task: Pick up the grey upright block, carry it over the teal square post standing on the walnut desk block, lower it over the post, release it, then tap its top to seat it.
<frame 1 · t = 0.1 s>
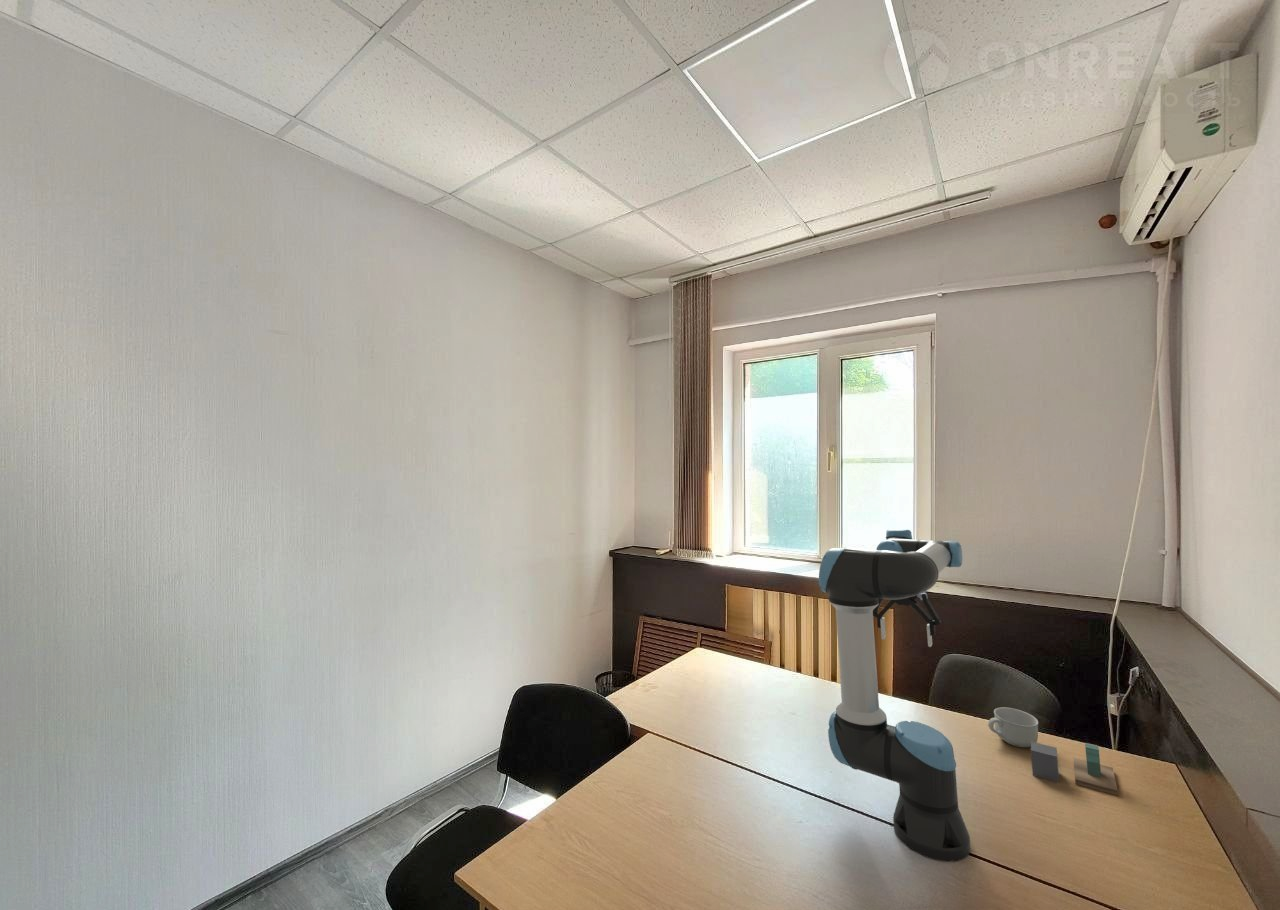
hand: (906, 641, 159), 28 cm above the table, fingers open, 13 cm apart
teacup: (1012, 742, 148), on the table
stand: (1094, 778, 130), on the table
grey upright block: (1045, 773, 132), on the table
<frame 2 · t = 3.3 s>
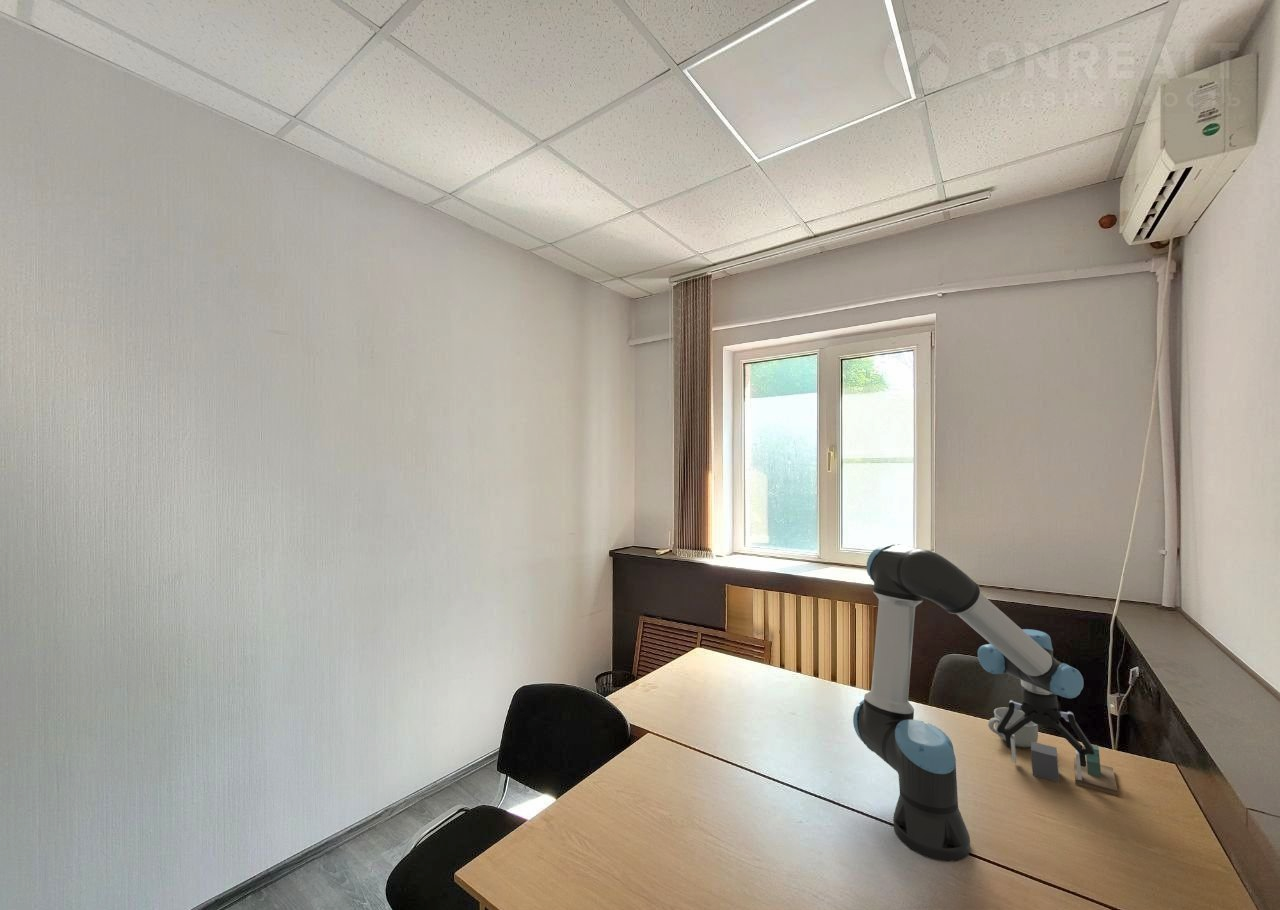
hand: (1046, 768, 132), 1 cm above the table, fingers open, 13 cm apart
nothing on the table moved.
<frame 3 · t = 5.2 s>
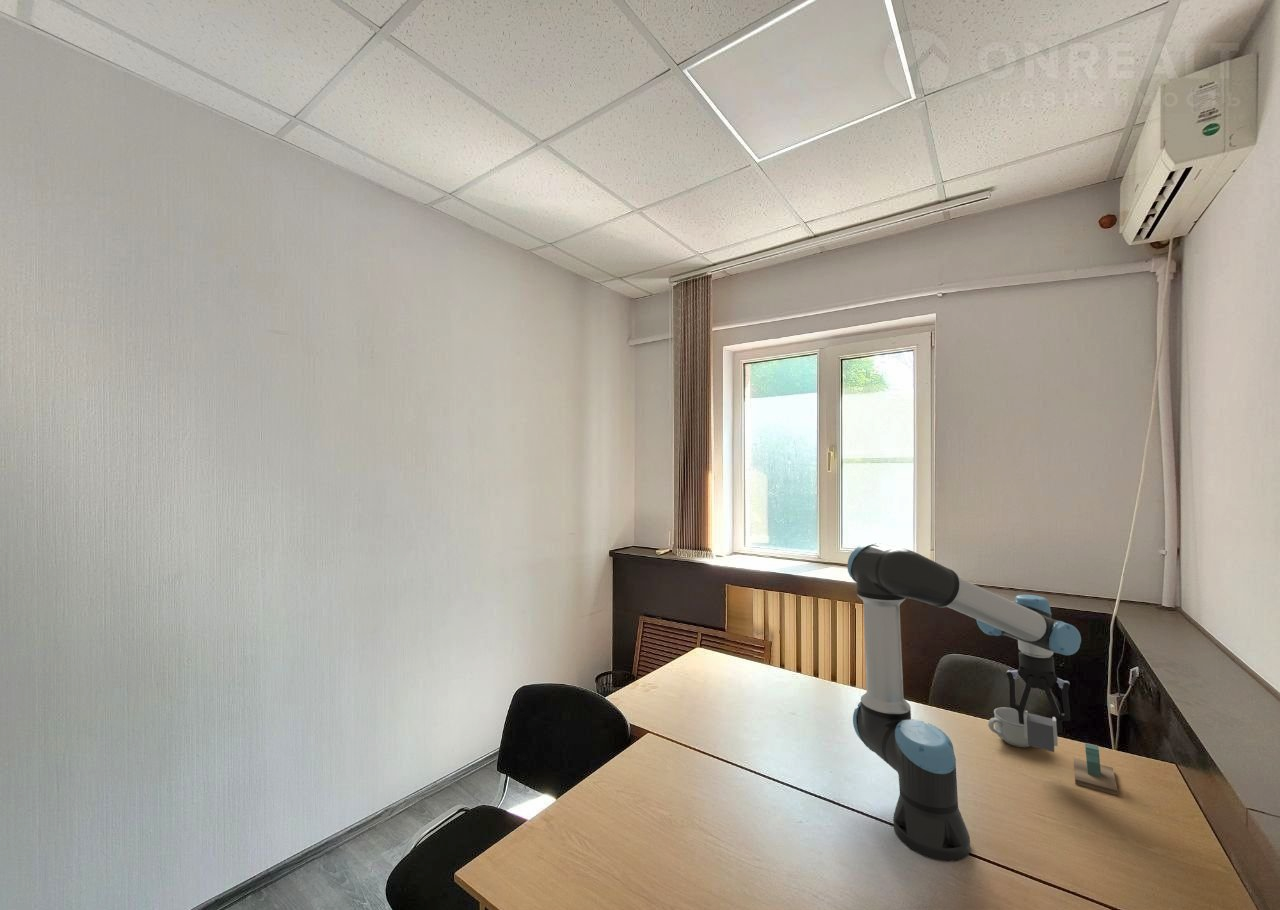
hand: (1041, 740, 133), 9 cm above the table, fingers closed on grey upright block, 5 cm apart
grey upright block: (1041, 744, 133), point 8 cm above the table, touching gripper
everything else where it was.
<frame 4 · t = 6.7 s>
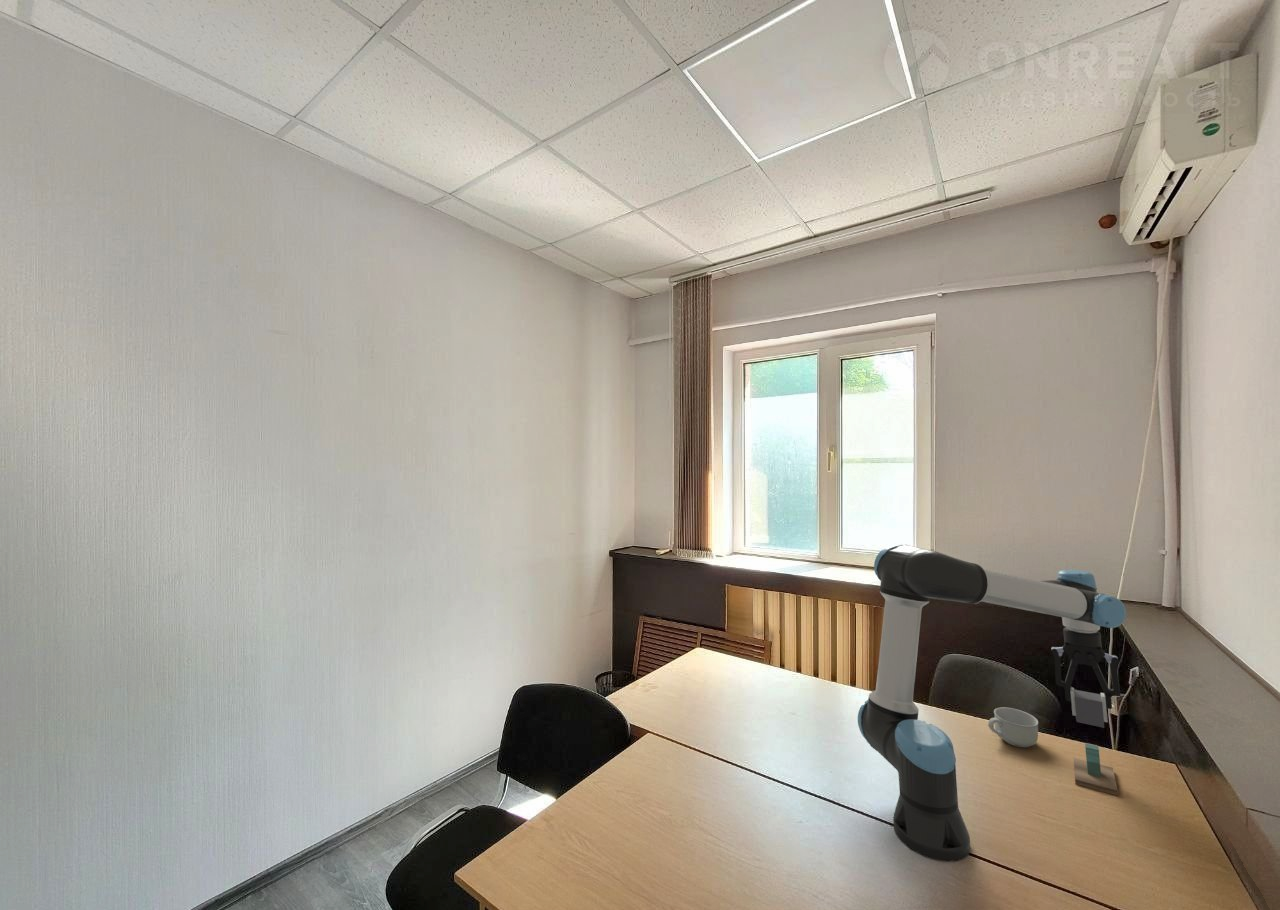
hand: (1089, 716, 131), 16 cm above the table, fingers closed on grey upright block, 5 cm apart
grey upright block: (1089, 720, 130), point 15 cm above the table, touching gripper
everything else where it was.
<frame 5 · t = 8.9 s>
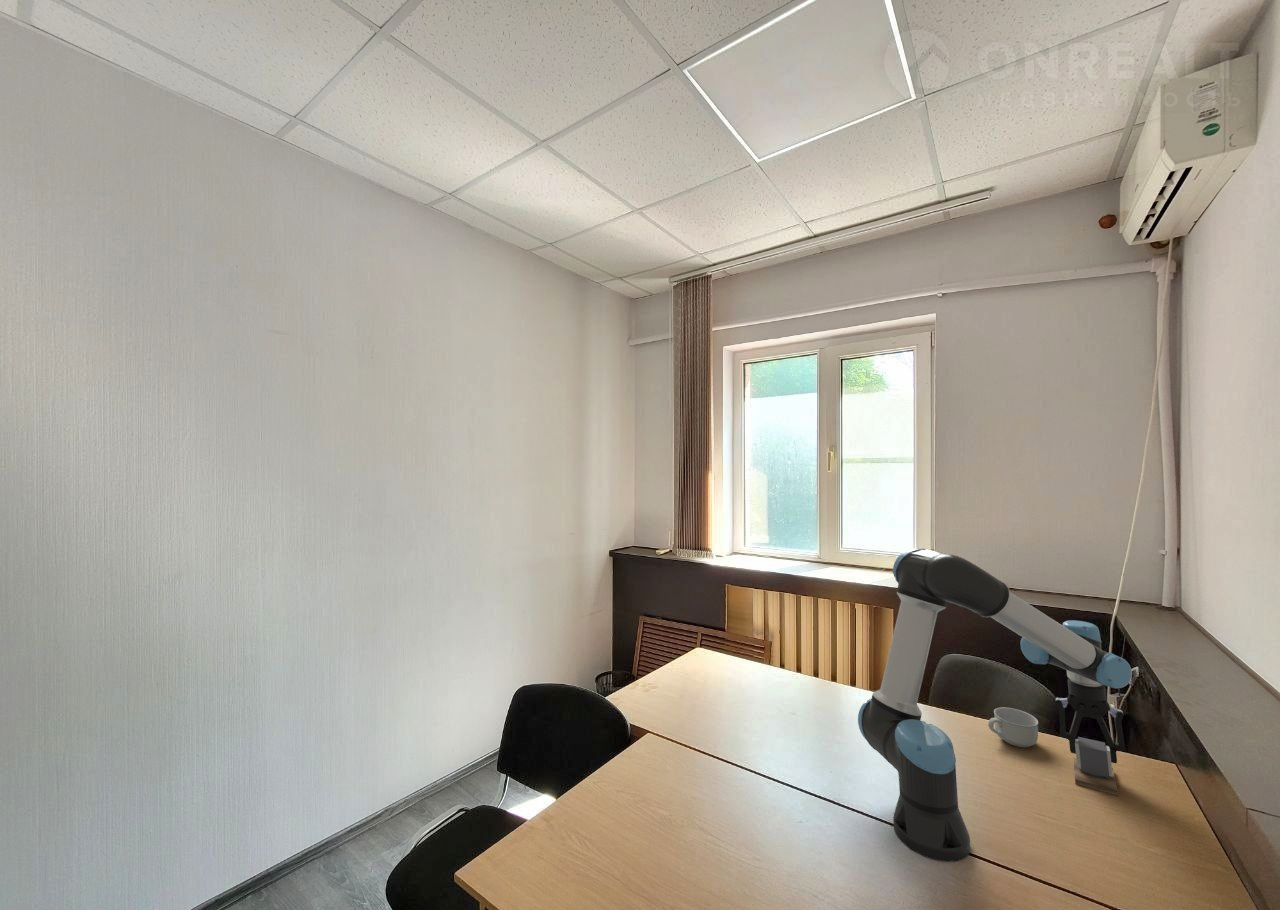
hand: (1094, 769, 130), 2 cm above the table, fingers closed on grey upright block, 5 cm apart
grey upright block: (1094, 769, 130), point 2 cm above the table, touching gripper, stand
everything else where it was.
when the fingers open (2 cm above the table, at t = 9.2 s): grey upright block stays where it is, resting on stand.
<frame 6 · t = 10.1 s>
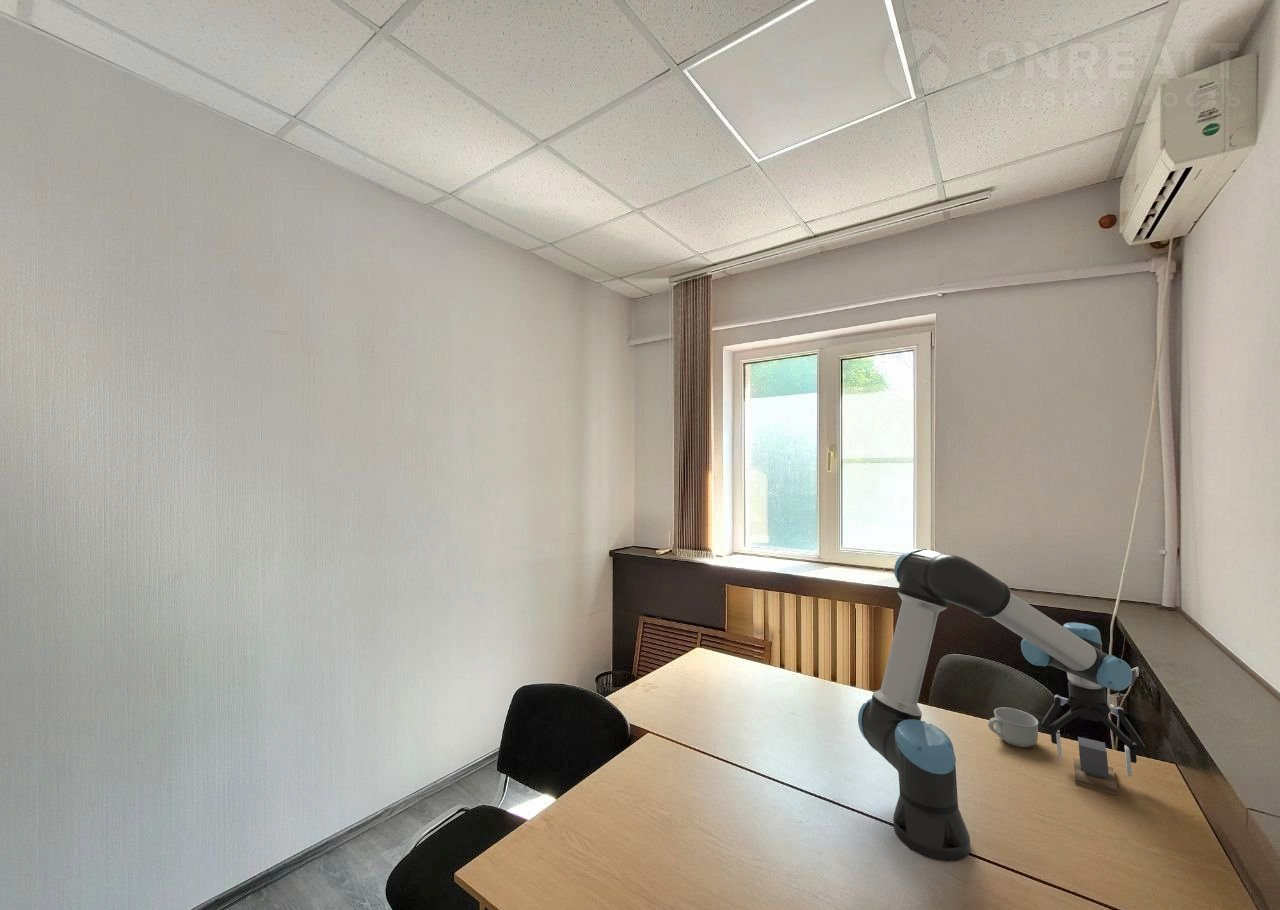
hand: (1093, 764, 130), 3 cm above the table, fingers open, 13 cm apart
grey upright block: (1094, 769, 130), point 2 cm above the table, touching stand
everything else where it was.
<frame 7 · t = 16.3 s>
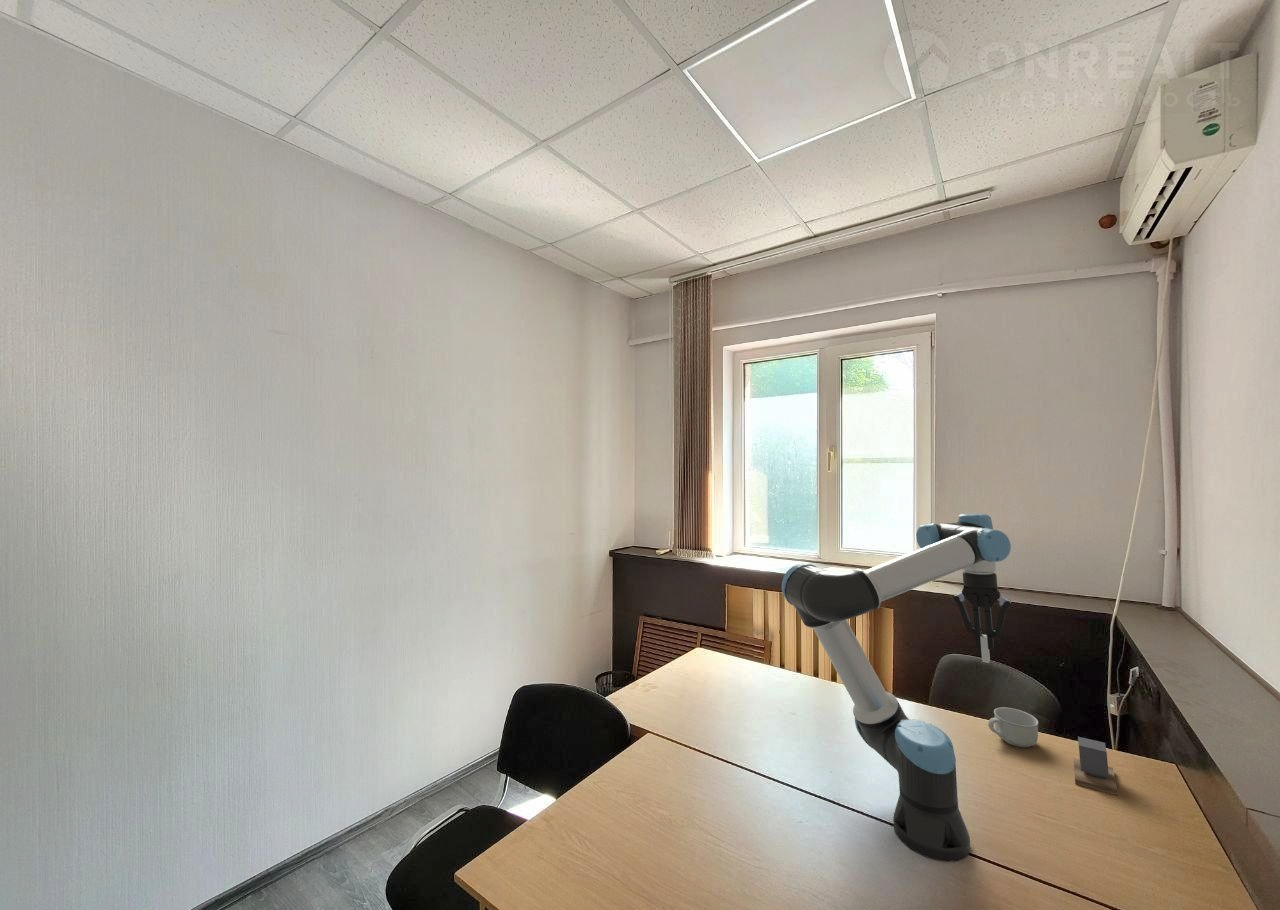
hand: (986, 660, 130), 32 cm above the table, fingers closed
nothing on the table moved.
at the end: grey upright block 0.1 cm from the stand (horizontally); grey upright block point 2.2 cm above the table; the gripper is holding nothing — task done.
